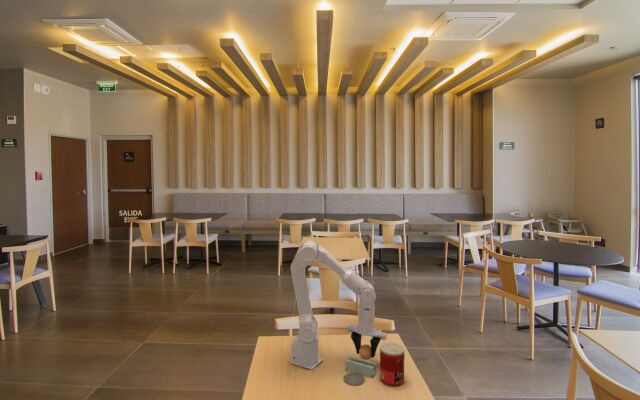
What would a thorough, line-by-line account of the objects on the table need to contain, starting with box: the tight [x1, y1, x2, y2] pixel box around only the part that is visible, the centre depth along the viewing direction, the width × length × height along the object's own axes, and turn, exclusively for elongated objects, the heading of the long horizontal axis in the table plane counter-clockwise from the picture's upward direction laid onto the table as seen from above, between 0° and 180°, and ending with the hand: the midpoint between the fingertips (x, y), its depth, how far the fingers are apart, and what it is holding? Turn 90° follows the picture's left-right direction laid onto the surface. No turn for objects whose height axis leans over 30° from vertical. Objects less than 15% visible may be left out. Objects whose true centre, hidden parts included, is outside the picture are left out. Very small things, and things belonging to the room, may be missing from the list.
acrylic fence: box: [345, 355, 377, 378], centre depth 130 cm, size 10×3×4 cm, turn 60°
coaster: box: [343, 372, 366, 387], centre depth 125 cm, size 7×7×1 cm
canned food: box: [379, 342, 405, 387], centre depth 125 cm, size 8×8×11 cm
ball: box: [358, 344, 372, 360], centre depth 135 cm, size 5×5×5 cm
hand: (365, 354), depth 135 cm, fingers closed on ball, 5 cm apart
